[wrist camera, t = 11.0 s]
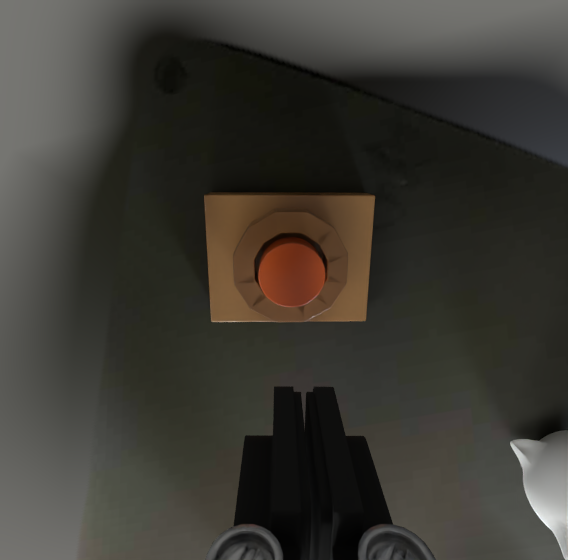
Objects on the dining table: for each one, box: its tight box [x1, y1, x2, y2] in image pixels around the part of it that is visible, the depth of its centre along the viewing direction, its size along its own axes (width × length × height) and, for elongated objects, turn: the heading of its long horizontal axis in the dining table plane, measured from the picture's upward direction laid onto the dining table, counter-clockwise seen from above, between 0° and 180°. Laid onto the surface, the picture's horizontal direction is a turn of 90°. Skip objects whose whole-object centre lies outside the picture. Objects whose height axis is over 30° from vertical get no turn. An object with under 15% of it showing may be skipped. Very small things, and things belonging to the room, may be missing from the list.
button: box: [258, 237, 325, 307], centre depth 21 cm, size 4×4×2 cm
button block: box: [204, 192, 375, 322], centre depth 23 cm, size 10×8×4 cm
